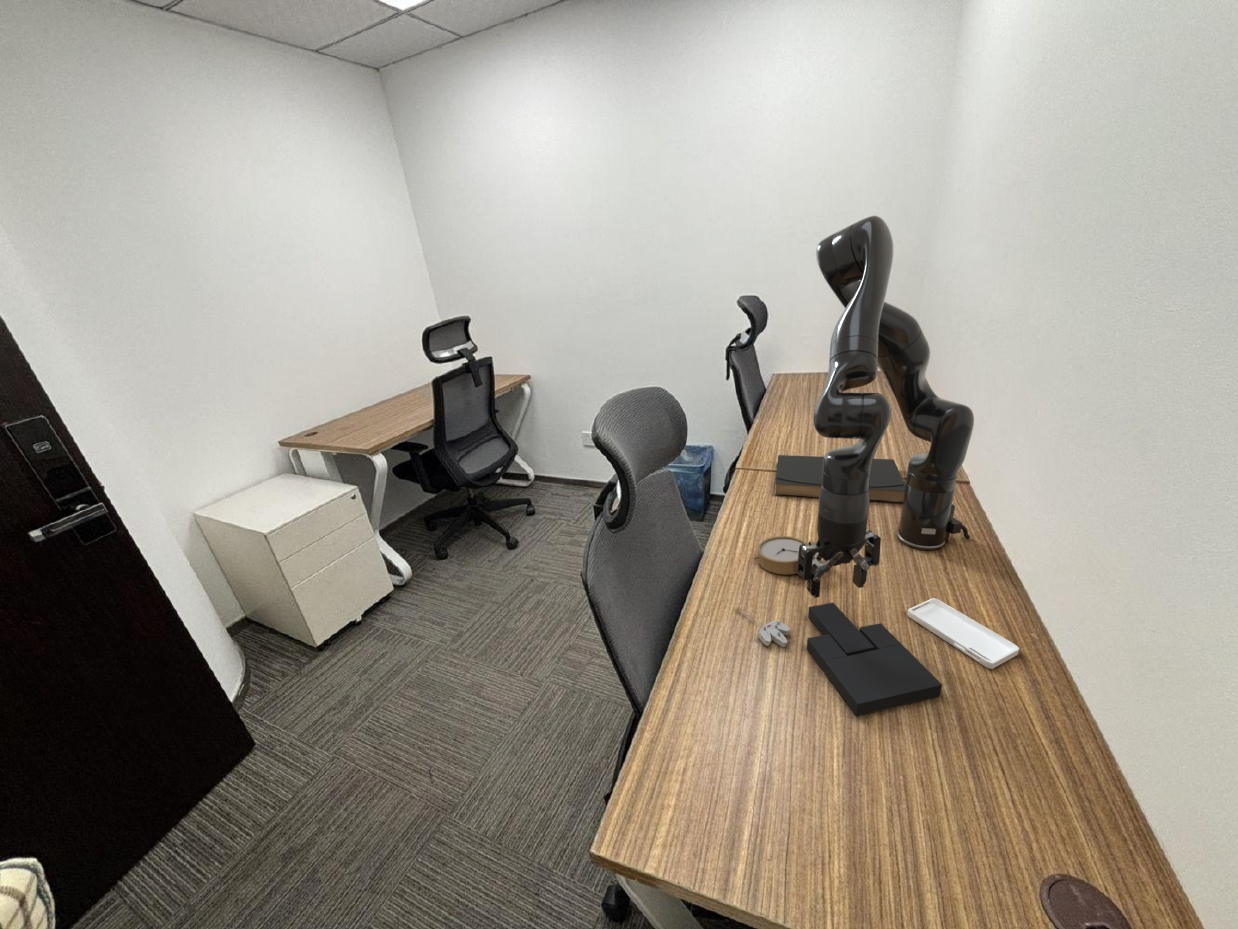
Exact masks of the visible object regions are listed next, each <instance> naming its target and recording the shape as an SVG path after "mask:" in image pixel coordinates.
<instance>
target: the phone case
mask: <svg viewBox="0 0 1238 929" xmlns="http://www.w3.org/2000/svg"><path fill="white" fill-rule="evenodd" d="M907 617H909V619H911V620H912V621H915V623H917V624H919V625H921V626H922V627H923V628H925V629H926V630H928V631H930V632H931V633H933V634H934V635H936V636H937V637H939V638H941V639H942V640H943V641H945V642H946V643H948V644H950V645H951V646H953V647H954V648H955V649H957V650H958V651H960V652H962V653H963V654H965V655H966V656H968V657H970V658H971V659H972V660H974V661H975V662H977V663H978V664H980V665H982V666H983V667H985V668H987V669H989V670H993V669H995V668H996V667H999V666H1000V665H1002V664H1004V663H1006V662H1007V661H1010V660H1011V659H1013V658H1015V657H1016V656H1018V655H1019V652H1020V646H1017V644H1015V643H1013V642H1011V641H1010V640H1008V639H1007V638H1005V637H1004V636H1001V635H1000V634H998V633H996V632H995V631H993V630H991V629H990V628H988V627H986V626H984V625H983V624H981V623H979V622H977V621H976V620H974V619H972V618H971V617H969V616H968V615H965V614H964V613H962V612H961V611H959V610H957V609H955V608H954V607H952V606H950V605H948V604H946V603H945V602H944V601H941V600H940V599H938V598H935V597H931V598H930V599H927V600H925V601H923V602H920V603H919V604H916V605H914V606H912V607H909V608H908V610H907Z"/></svg>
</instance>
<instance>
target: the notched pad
mask: <svg viewBox="0 0 1238 929" xmlns="http://www.w3.org/2000/svg"><path fill="white" fill-rule="evenodd" d="M858 630H859V631H860V632H861V633H862V634H863V635H864V636H865V638H866V639H867V640H868V641H869V642H870V643H871V644H872V645H873V646H874V650H873V651H868V652H864V653H859V654H854V655H850V656H847V655H846V654H845V652H844V651H843V650H842V649H841V648H840V646H839V645H838V644H837V643H836V642H835V640H834V639H833V638H832V637H831V636H830V634H826V635H822V634H821V635H817V636H812V637H808V638H807V640H806V651H807V652H808V653H809V655H810V656H811V658H812V659H813V660H814V662H815V663H816V664H817V666H818V667H819V668H820V670H821V671H822V672H823V673H824V675H825V677H826V678H827V679H828V681H829V682H830V683H831V685H832V686H833V687H834V689H835V690H836V691H837V693H838V694H839V695H840V697H841V698H842V699H843V702H845V703H846V705H847V706H848V708H849V710H851V711H852V713H853V714H854V716H855V717H858V716H863V715H867V714H871V713H876V712H879V711H880V712H881V711H884V710H888V709H892V708H897V707H901V706H905V705H910V704H914V703H919V702H923V701H927V700H931V699H935V698H939V697H940V696H941V693H942V689H943V684H942V683H941V681H940V680H939V679H938V678H937V677H935V676H934V674H932V673H931V672H930V671H929V670H928V669H927V667H926V666H924V664H922V663H921V661H920V660H919V659H917V658H916V657H915V656H914V655H913V654H912V652H910V651H909V649H908V648H906V647H905V645H903V644H902V643H901V642H900V641H899V639H898V638H896V636H894V635H893V634H892V632H890V631H889V630H888V628H886V627H885V626H884V625H883V623H881V622H880V623H874V624H869V625H864V626H860V627H859V628H858Z"/></svg>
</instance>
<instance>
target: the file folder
mask: <svg viewBox="0 0 1238 929" xmlns="http://www.w3.org/2000/svg"><path fill="white" fill-rule="evenodd" d="M823 460H824V456H813V455H790V454H789V455H787V454H778V455H777V463H776V474H775V483H774V484H775V485H774V496H788V497H803V498H817V499H819V495H820V491H821V486H822V471H823ZM905 485H906V482H905V481H904V479H903V476H902V475H901V472H900V470H899V468H898V466H897V464H896V462H895V459H892V458H874V459H873V462H872V467H871V474H870V484H869V502H881V503H895V504H903V498H904V491H905Z"/></svg>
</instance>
